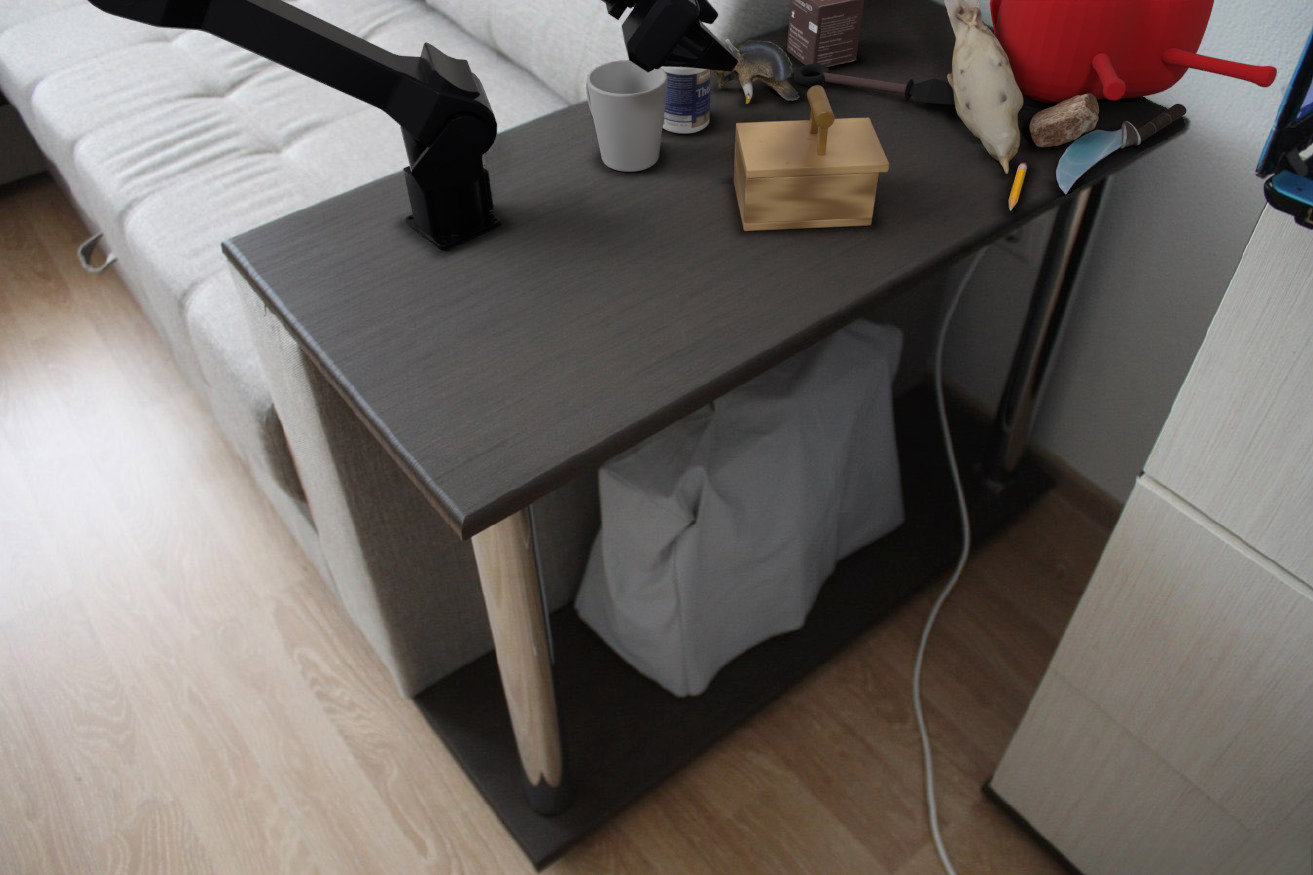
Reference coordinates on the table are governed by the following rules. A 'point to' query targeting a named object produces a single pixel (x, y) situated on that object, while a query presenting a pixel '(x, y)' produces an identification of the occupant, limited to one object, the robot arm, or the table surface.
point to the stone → (1064, 121)
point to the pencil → (1017, 185)
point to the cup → (627, 113)
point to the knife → (1107, 145)
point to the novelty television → (1108, 47)
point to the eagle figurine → (760, 68)
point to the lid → (811, 144)
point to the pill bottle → (687, 99)
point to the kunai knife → (885, 86)
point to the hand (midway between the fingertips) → (724, 41)
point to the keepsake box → (803, 199)
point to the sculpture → (984, 83)
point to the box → (824, 31)
